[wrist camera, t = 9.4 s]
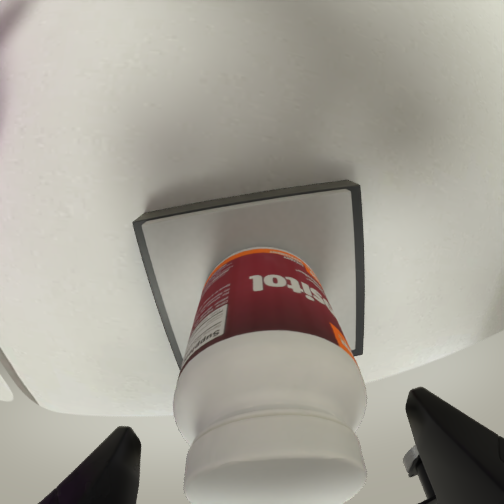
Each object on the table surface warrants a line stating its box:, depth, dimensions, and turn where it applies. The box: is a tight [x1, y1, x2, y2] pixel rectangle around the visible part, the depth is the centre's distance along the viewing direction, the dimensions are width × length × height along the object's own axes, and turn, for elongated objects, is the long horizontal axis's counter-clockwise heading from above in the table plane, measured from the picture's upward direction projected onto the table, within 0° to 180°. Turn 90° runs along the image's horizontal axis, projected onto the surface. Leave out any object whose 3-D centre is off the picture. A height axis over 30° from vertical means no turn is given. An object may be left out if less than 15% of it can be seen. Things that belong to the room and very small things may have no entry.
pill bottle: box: [173, 247, 367, 504], centre depth 11 cm, size 6×6×11 cm
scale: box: [133, 180, 365, 370], centre depth 18 cm, size 11×12×3 cm
